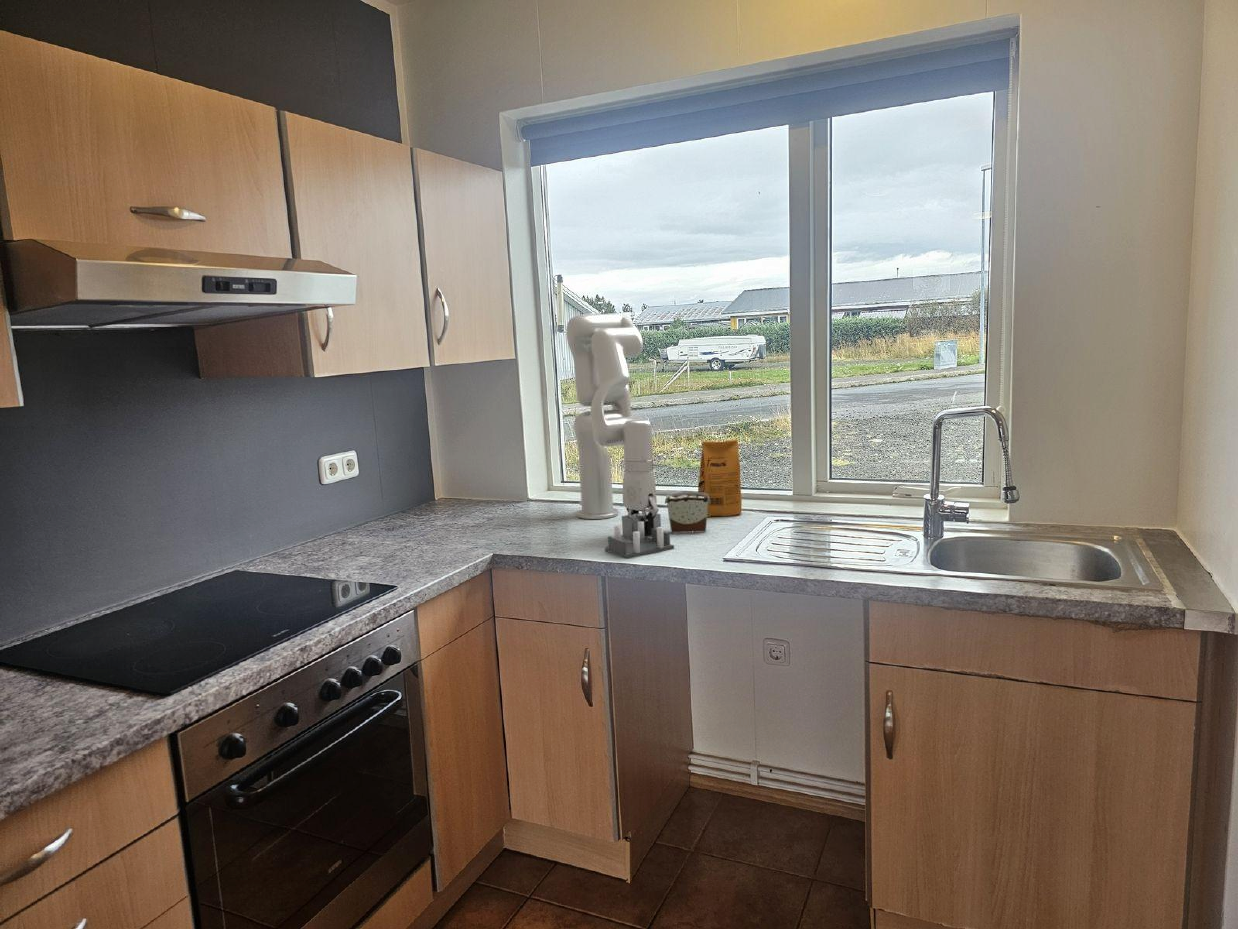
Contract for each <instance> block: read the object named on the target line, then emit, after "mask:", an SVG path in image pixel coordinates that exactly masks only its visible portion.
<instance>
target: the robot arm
mask: <svg viewBox="0 0 1238 929" xmlns="http://www.w3.org/2000/svg"><path fill="white" fill-rule="evenodd" d="M566 341H567V344H568V348H569V350H570V352H571V356H572V359H573V364H574V365H573V366H574V377H575V378H574V381H575V392H576V399H577V401H578V404H580V405H581V406H582V407H590V410H588V411H583V412H581V413H579V414H578V415H577V416H576V417H575V419H574V421H573V429H574V433H575V439H576V444H577V451H578V464H579V466H578V467H579V483H580V498H581V499H580V500H579V501H578V504H579V505H580V506H581V509H580V510H578V511H577V512H576V516H577V518H580V519H582V520H583V519H584V520H601V519H602V520H603V519H609V518H614V517H616V516H617V515H619V509H618V508H615V507H614V501H613V499H614V498H613V496H614V495H613V480H612V462H611V461H612V460H611V456H610V452H609V451H608V450H607V449H606V447H617V446H618V447H619V446H623V457H624V458H623V459H624V461H623V462H624V472H623V479H622V504H623V507H625V509H626V511H627V515H631V514H637V513H640V512H641V513H642V515H643V519H644V521H643V522H644V535H645V537H646V536H651V535H652V534H651V529H652V528H654V520H655V516H656V514H657V513H659V510H660V509H659V507H658V504H657V503H658V502H657V501H658V500H657V488H656V480H655V475H654V455H653V453H654V451H653V431H652V430H653V427H652V423H651V421H650V420H648V419H643V418H641V417H639V416H632V404H631V391H630V386H629V383H630V382H631V376H630V371H629V367H628V363H627V358H628V359H629V358H637V357H639V356H640V355H642V353H643V347H644V342H643V337H642V335H641V332H640V330H639V329H638V328H637V327H636V325H635V324H634V323H632V321H631V320H630V319H628V317H627V316H625V315H624V314H621V313H588V314H587V313H585V314H579V315H575V316H573V317H571V318H570V319H569V320H568V322H567V325H566ZM604 406H611V407H612V409H604ZM646 512H649V513H648V515H647V514H646Z"/></svg>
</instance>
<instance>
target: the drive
mask: <svg viewBox="0 0 1238 929" xmlns="http://www.w3.org/2000/svg"><path fill="white" fill-rule="evenodd" d="M648 513H649V512H646V514H647V515H648ZM661 519H662V517H661V513H659V512H657V514H656V516H655V520H654V528H655V529H657V527H662V526H661V525H662V520H661ZM639 521H644V519H643V515H642V512H639V513H637V514H631V515H628V514H626V515H622V516H621V533H622V538H623V537H624V538H623V539H625V538H626V540H628V539H629V540H628V541H630V540H631V541H630V542H633V532H635V531H638V522H639ZM650 537H652V535H651V536H646V537H645V538H647V539H650Z"/></svg>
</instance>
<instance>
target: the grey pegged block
mask: <svg viewBox="0 0 1238 929" xmlns="http://www.w3.org/2000/svg"><path fill="white" fill-rule="evenodd" d="M613 527H614V528H613V529H614V536H608V537H607V542H608V543H607V544H608V546H606V547H604V551H605V552H608V551H609V552H608V553H610V552H611V554H613V553H614V554H613V555H615V556H618V555H620V556H619V557H621V556H622V557H621V558H624V559H626V558H627V559H632V558H635V556H636V557H640V556H639V555H641V556H646V555H649V554H650V555H651V554H654V553H660V552H664V551H665V552H666V551H669V550H674V549H675V545H673V544H671V535H670V534H671V533H670V532H668V531H665V530H664V527H663V526H661V527H657V529H655V528H652V529H651V534H652V538H647V539H645V535H644V522H643V521H639V522H638V531H635V532H633V541H630V542H627V541H625V540H623V539H622V525H614V526H613ZM631 557H632V558H631Z"/></svg>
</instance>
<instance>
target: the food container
mask: <svg viewBox="0 0 1238 929" xmlns="http://www.w3.org/2000/svg"><path fill="white" fill-rule="evenodd" d="M708 501H709V502H710V498H709V496H708V494H706V493H700V492H698V491H685V492H684V491H683V492H674V493H669V494H667V495H666V498H664V505H667V507H666V508H667V513H668V520H669V526H670V527H669V528H670V532H680V533H697V532H696V531H706V532H707V525H708V524H707V523H708V522H707V521H708V517H707V512H708ZM710 503H711V502H710ZM692 531H694V532H692Z"/></svg>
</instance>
